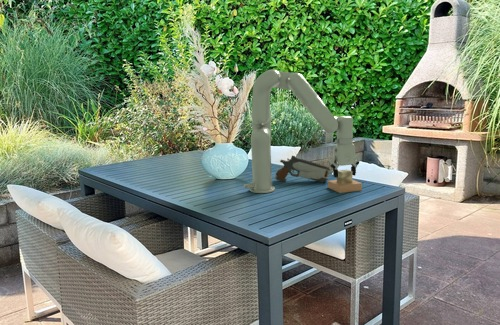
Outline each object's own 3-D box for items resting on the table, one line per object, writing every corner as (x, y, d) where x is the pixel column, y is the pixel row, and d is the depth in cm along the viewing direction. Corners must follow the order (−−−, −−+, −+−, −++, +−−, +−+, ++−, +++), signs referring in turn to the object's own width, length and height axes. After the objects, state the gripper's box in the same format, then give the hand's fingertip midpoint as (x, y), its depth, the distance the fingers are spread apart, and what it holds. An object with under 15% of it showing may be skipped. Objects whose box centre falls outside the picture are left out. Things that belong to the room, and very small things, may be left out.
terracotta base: (339, 194, 205) (339, 185, 204) (328, 188, 216) (327, 180, 215) (361, 191, 208) (361, 183, 208) (348, 185, 220) (348, 178, 219)
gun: (323, 194, 228) (331, 167, 224) (273, 179, 231) (281, 153, 228) (323, 191, 232) (331, 165, 229) (275, 177, 236) (282, 151, 233)
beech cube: (342, 183, 208) (342, 172, 207) (336, 181, 214) (336, 170, 212) (352, 182, 210) (352, 171, 209) (346, 180, 215) (346, 169, 214)
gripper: (332, 144, 202) (332, 179, 205) (364, 141, 207) (364, 175, 210) (325, 142, 209) (325, 176, 212) (356, 139, 214) (355, 172, 217)
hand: (344, 176), depth 211 cm, fingers open, 9 cm apart
